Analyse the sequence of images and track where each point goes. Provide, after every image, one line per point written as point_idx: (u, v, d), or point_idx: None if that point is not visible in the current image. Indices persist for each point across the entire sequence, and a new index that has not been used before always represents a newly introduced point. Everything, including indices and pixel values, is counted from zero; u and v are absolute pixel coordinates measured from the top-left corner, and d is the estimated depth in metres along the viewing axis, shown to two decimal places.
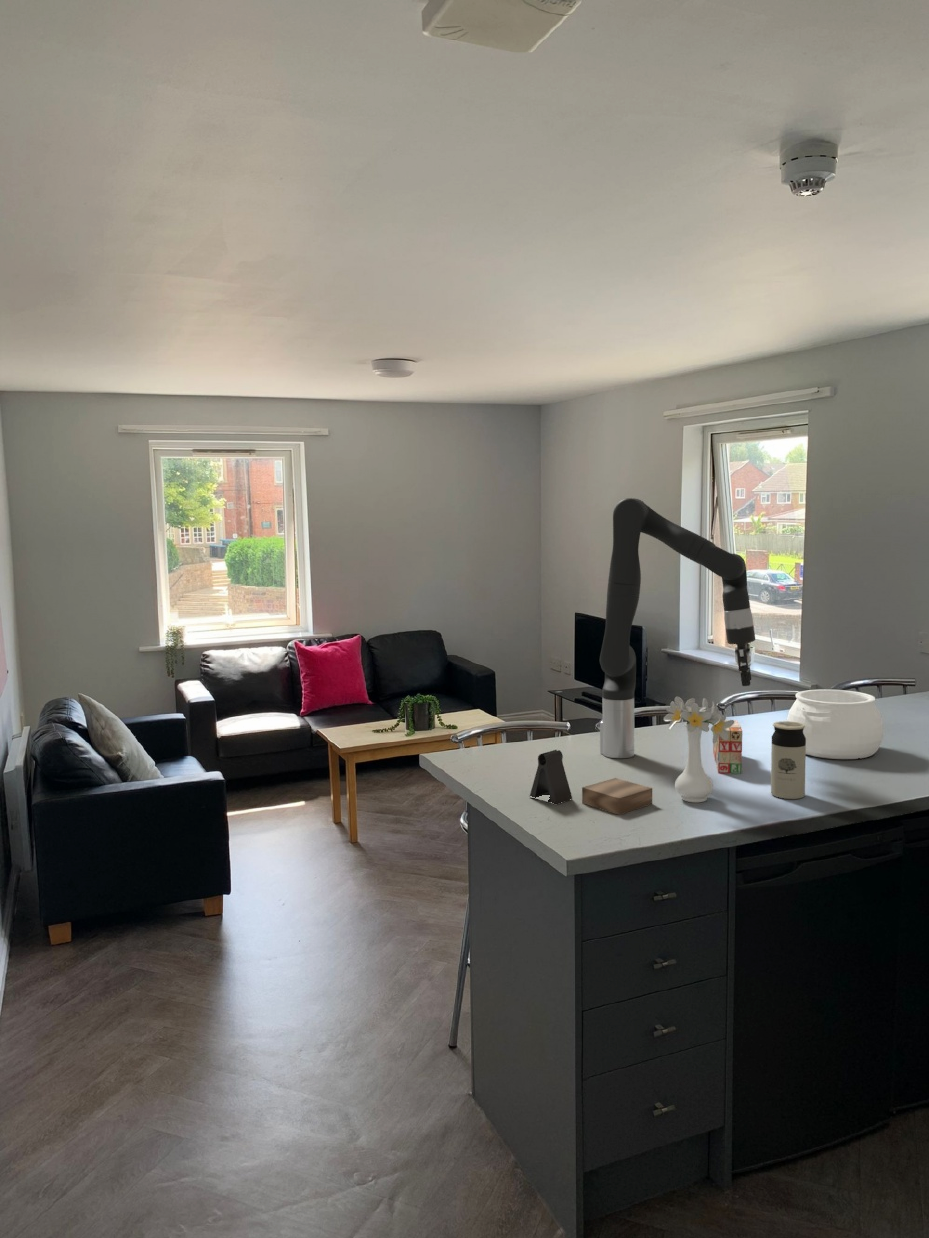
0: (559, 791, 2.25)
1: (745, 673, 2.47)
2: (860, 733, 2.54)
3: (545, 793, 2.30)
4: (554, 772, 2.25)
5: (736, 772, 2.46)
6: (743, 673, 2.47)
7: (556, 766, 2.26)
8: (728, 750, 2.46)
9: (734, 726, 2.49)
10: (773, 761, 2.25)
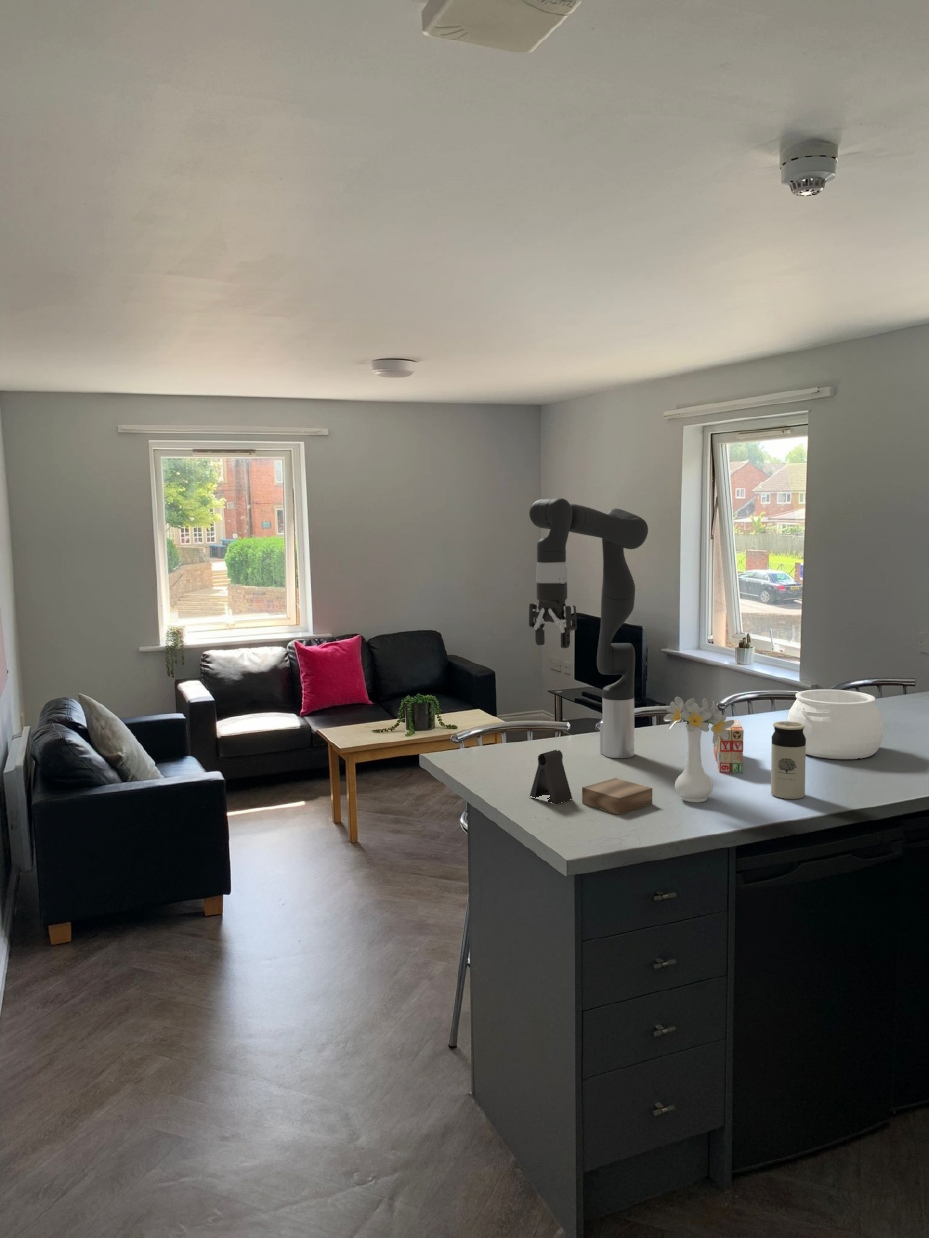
0: (559, 791, 2.25)
1: (568, 633, 2.20)
2: (860, 733, 2.54)
3: (545, 793, 2.30)
4: (554, 772, 2.25)
5: (738, 772, 2.47)
6: (567, 633, 2.19)
7: (556, 766, 2.26)
8: (729, 749, 2.46)
9: (735, 726, 2.49)
10: (773, 761, 2.25)
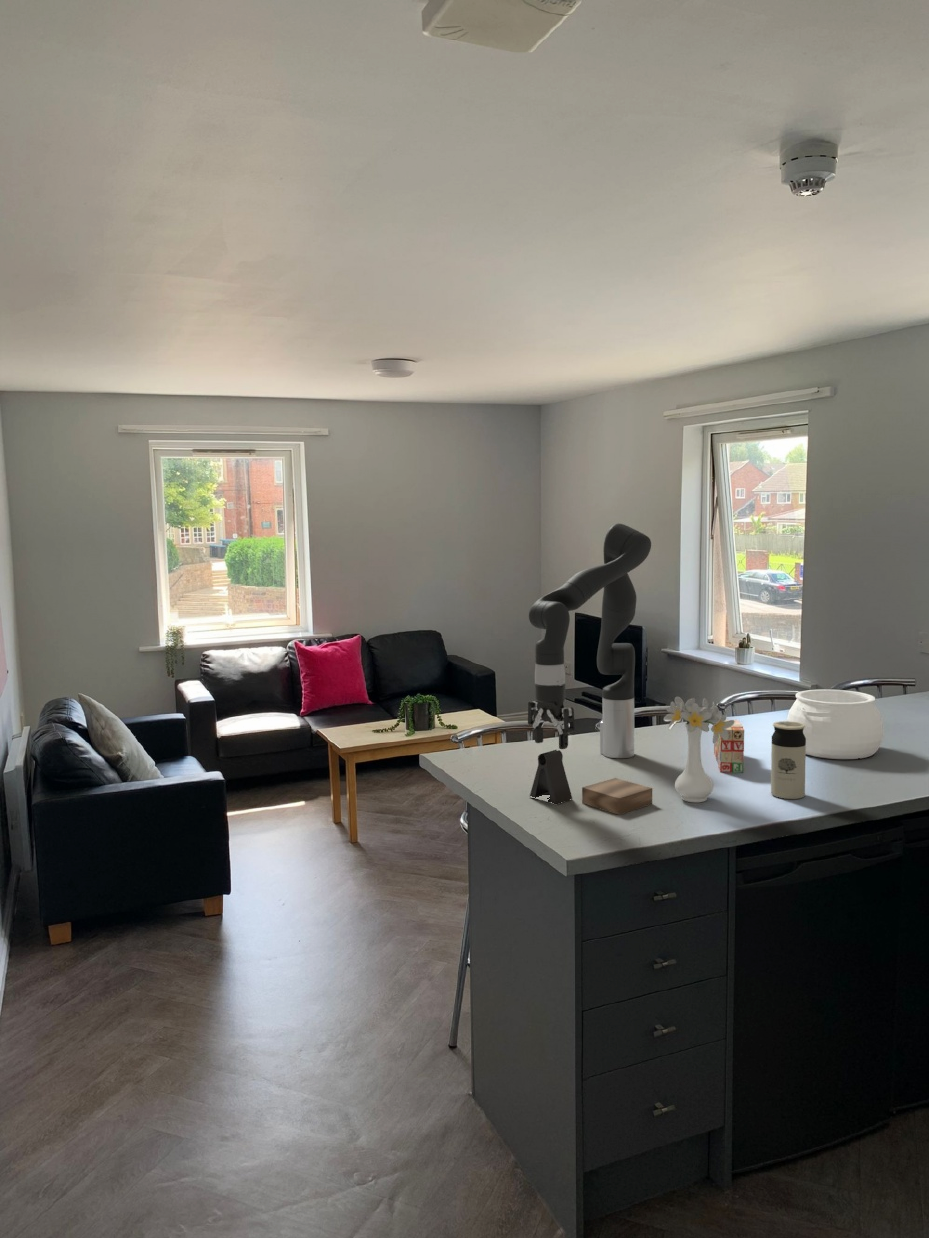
0: (559, 791, 2.25)
1: (566, 734, 2.22)
2: (860, 733, 2.54)
3: (545, 793, 2.30)
4: (554, 772, 2.25)
5: (738, 772, 2.47)
6: (565, 735, 2.22)
7: (556, 766, 2.26)
8: (730, 749, 2.47)
9: (736, 725, 2.50)
10: (773, 761, 2.25)
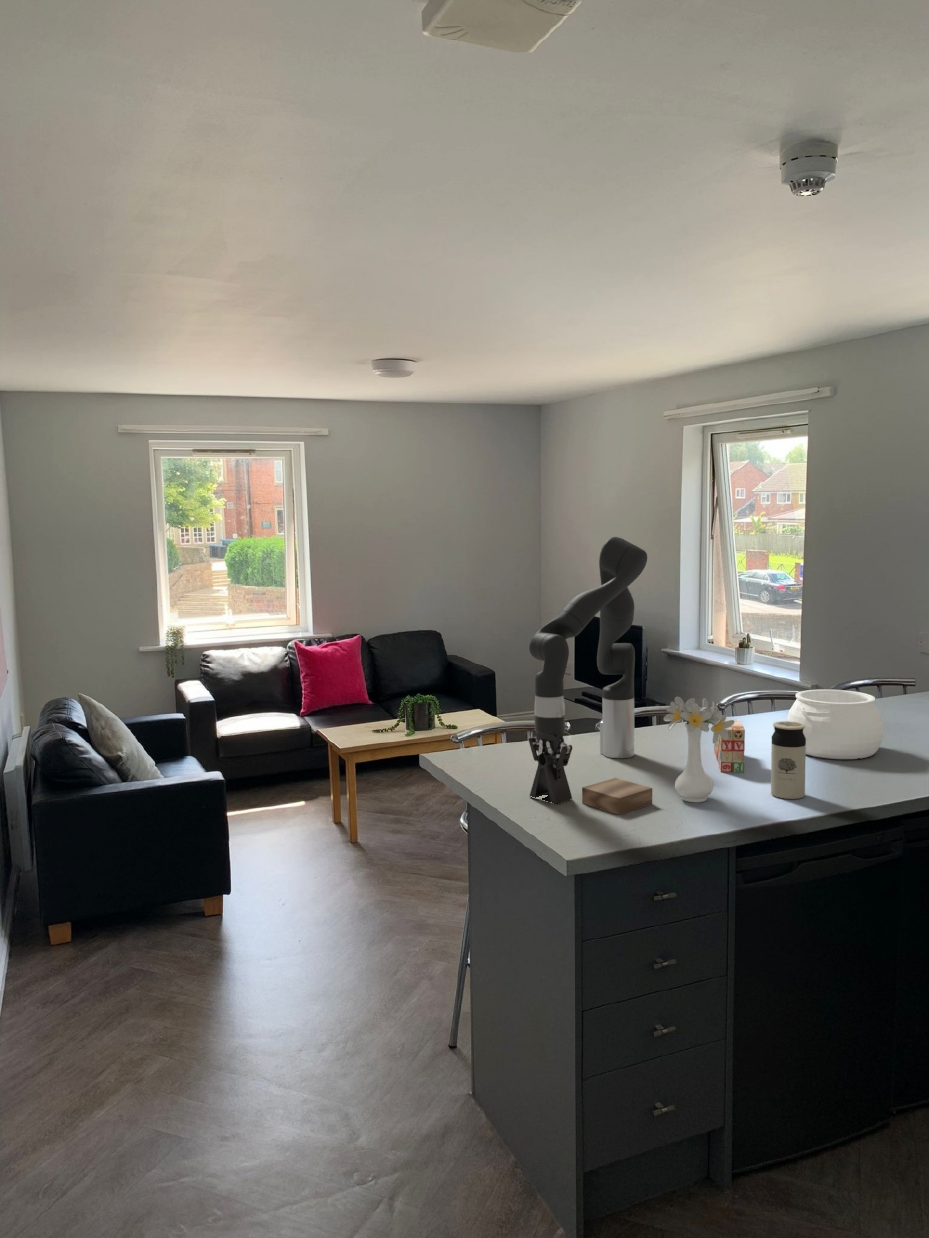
0: (559, 791, 2.25)
1: (559, 768, 2.25)
2: (860, 733, 2.54)
3: (545, 793, 2.30)
4: None
5: (739, 771, 2.47)
6: (558, 769, 2.25)
7: None
8: (730, 749, 2.47)
9: (736, 725, 2.50)
10: (773, 761, 2.25)
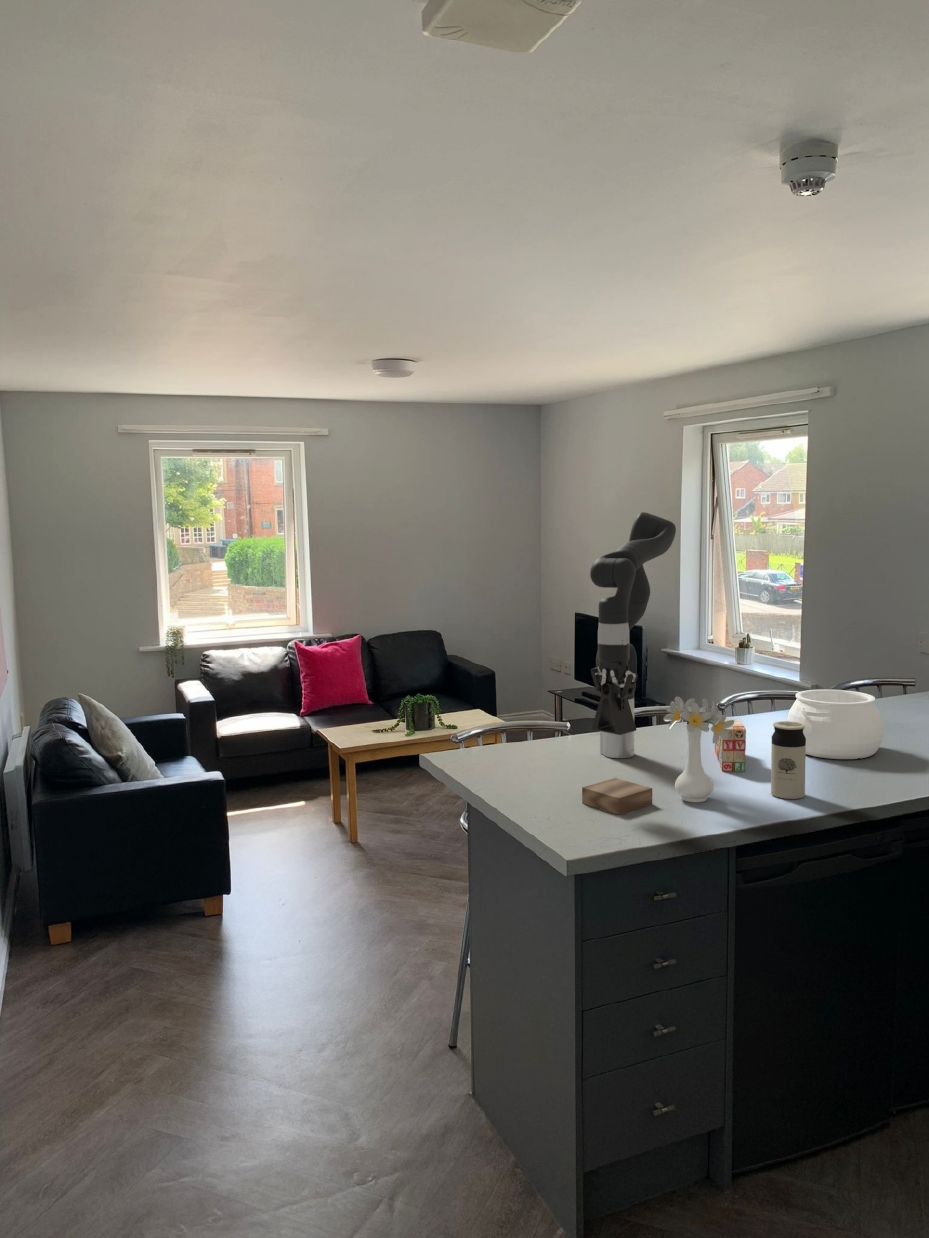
0: (623, 721, 2.17)
1: (623, 698, 2.18)
2: (860, 733, 2.54)
3: (607, 725, 2.23)
4: None
5: (740, 771, 2.48)
6: (622, 698, 2.17)
7: None
8: (731, 748, 2.47)
9: (737, 725, 2.50)
10: (773, 761, 2.25)
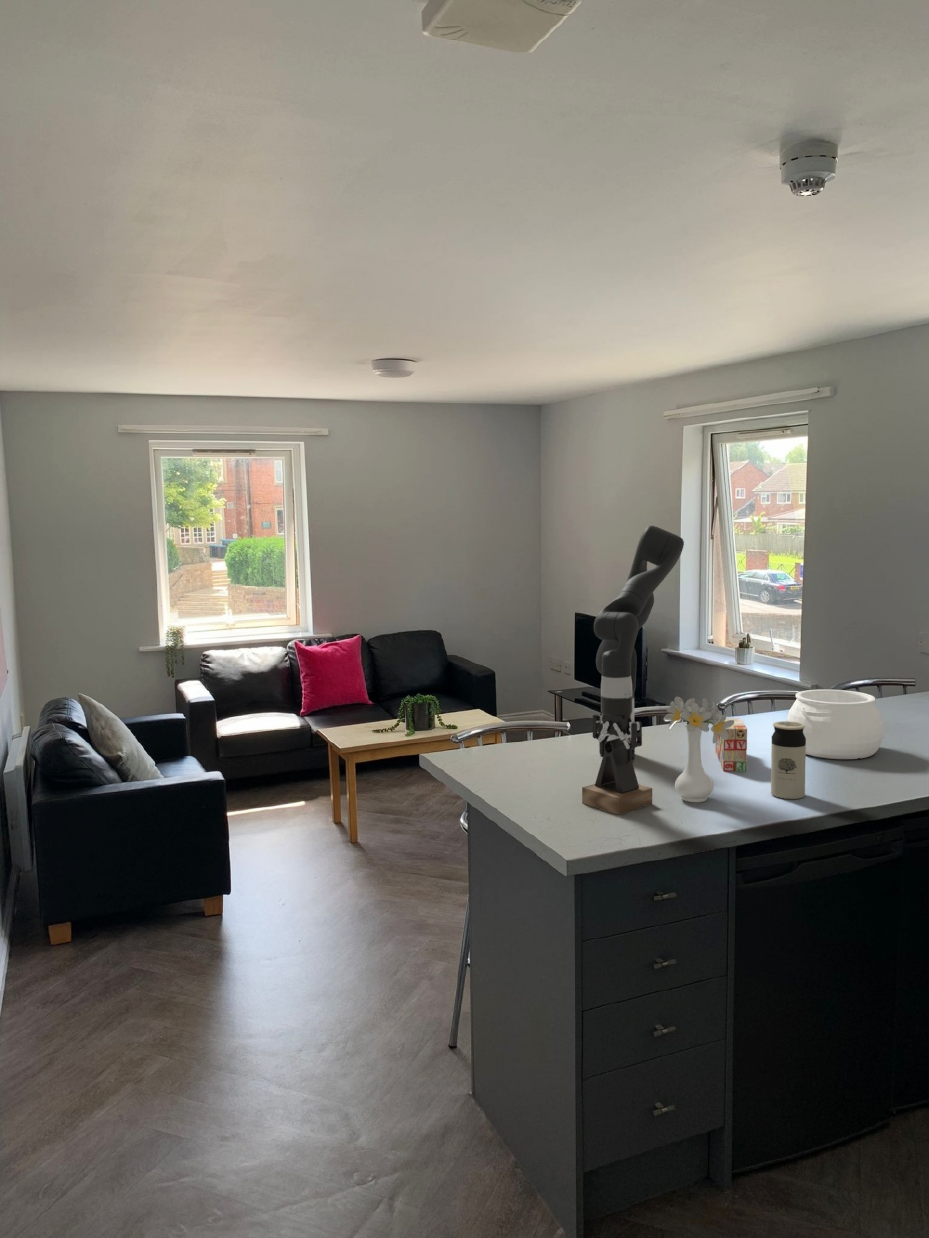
0: (625, 780, 2.19)
1: (633, 749, 2.17)
2: (860, 733, 2.54)
3: (611, 782, 2.25)
4: (620, 761, 2.19)
5: (741, 770, 2.48)
6: (632, 749, 2.17)
7: (622, 754, 2.21)
8: (733, 748, 2.48)
9: (738, 724, 2.51)
10: (773, 761, 2.25)
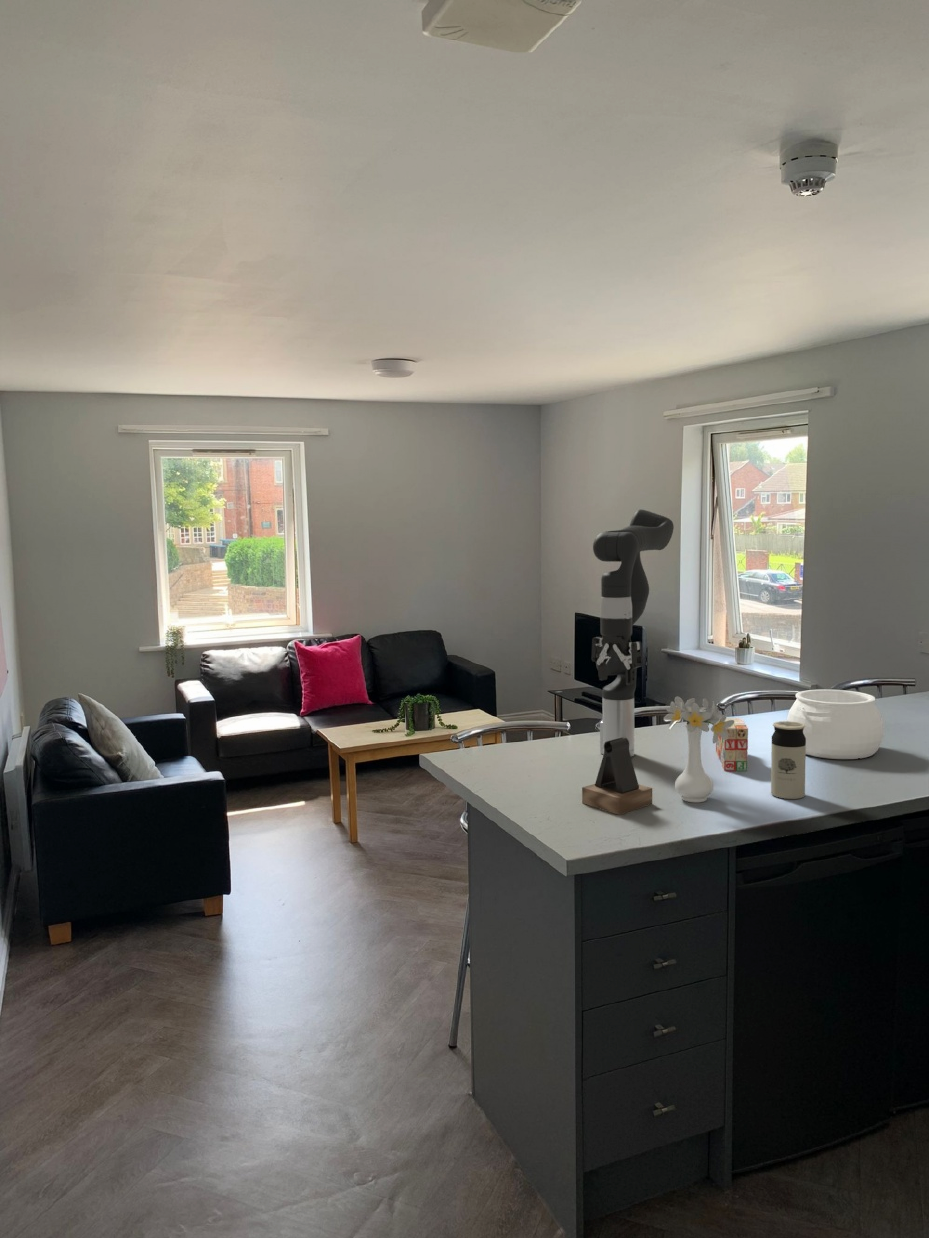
0: (625, 780, 2.19)
1: (633, 670, 2.15)
2: (860, 733, 2.54)
3: (611, 782, 2.25)
4: (620, 761, 2.19)
5: (742, 770, 2.48)
6: (632, 670, 2.15)
7: (622, 754, 2.21)
8: (734, 748, 2.48)
9: (739, 724, 2.51)
10: (773, 761, 2.25)
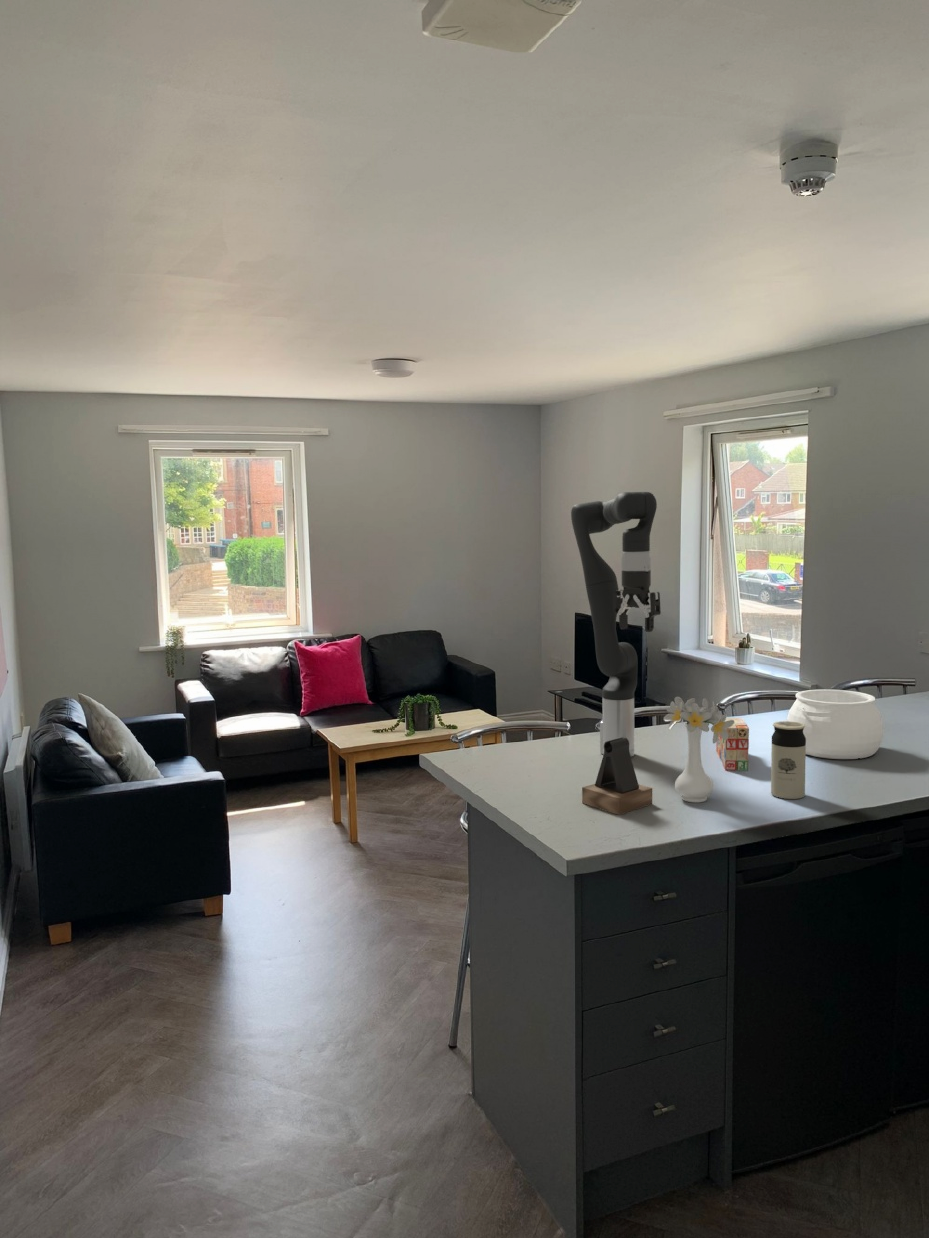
0: (625, 780, 2.19)
1: (652, 618, 2.35)
2: (860, 733, 2.54)
3: (611, 782, 2.25)
4: (620, 761, 2.19)
5: (743, 770, 2.49)
6: (651, 618, 2.35)
7: (622, 754, 2.21)
8: (735, 747, 2.48)
9: (740, 724, 2.51)
10: (773, 761, 2.25)
